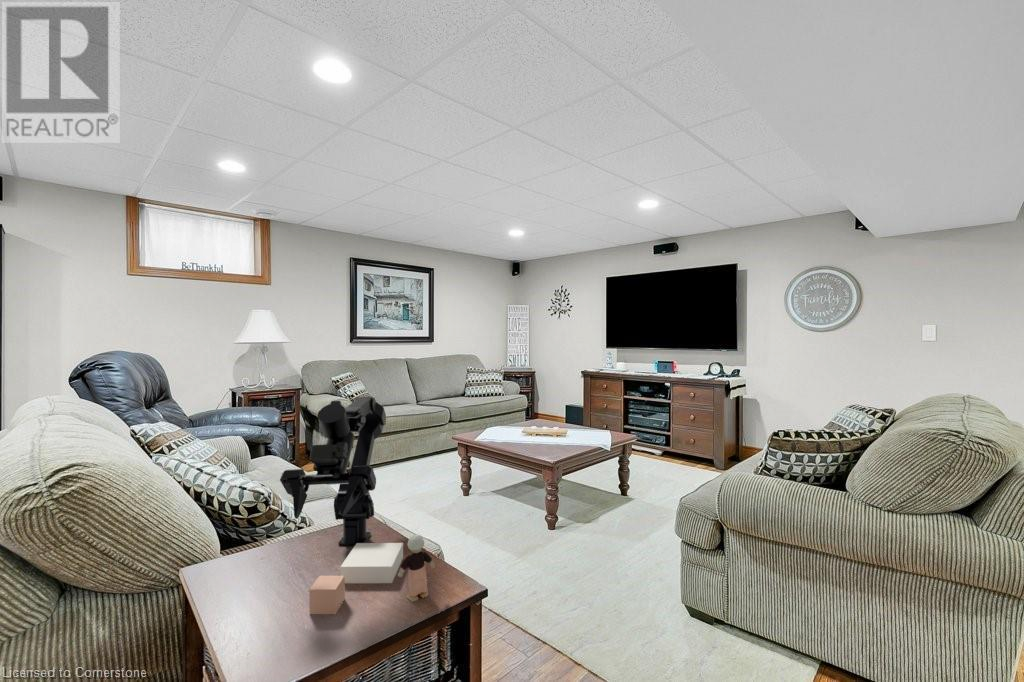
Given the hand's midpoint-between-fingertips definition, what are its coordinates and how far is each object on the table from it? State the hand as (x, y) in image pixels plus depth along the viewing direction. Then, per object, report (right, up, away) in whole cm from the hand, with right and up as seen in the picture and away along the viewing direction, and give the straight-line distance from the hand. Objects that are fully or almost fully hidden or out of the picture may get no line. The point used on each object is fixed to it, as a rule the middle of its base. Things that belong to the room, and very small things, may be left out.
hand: (319, 516), depth 94 cm
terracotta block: (+2, -17, -2) cm, 17 cm away
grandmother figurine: (+19, -17, +2) cm, 26 cm away
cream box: (+7, -17, +12) cm, 22 cm away
